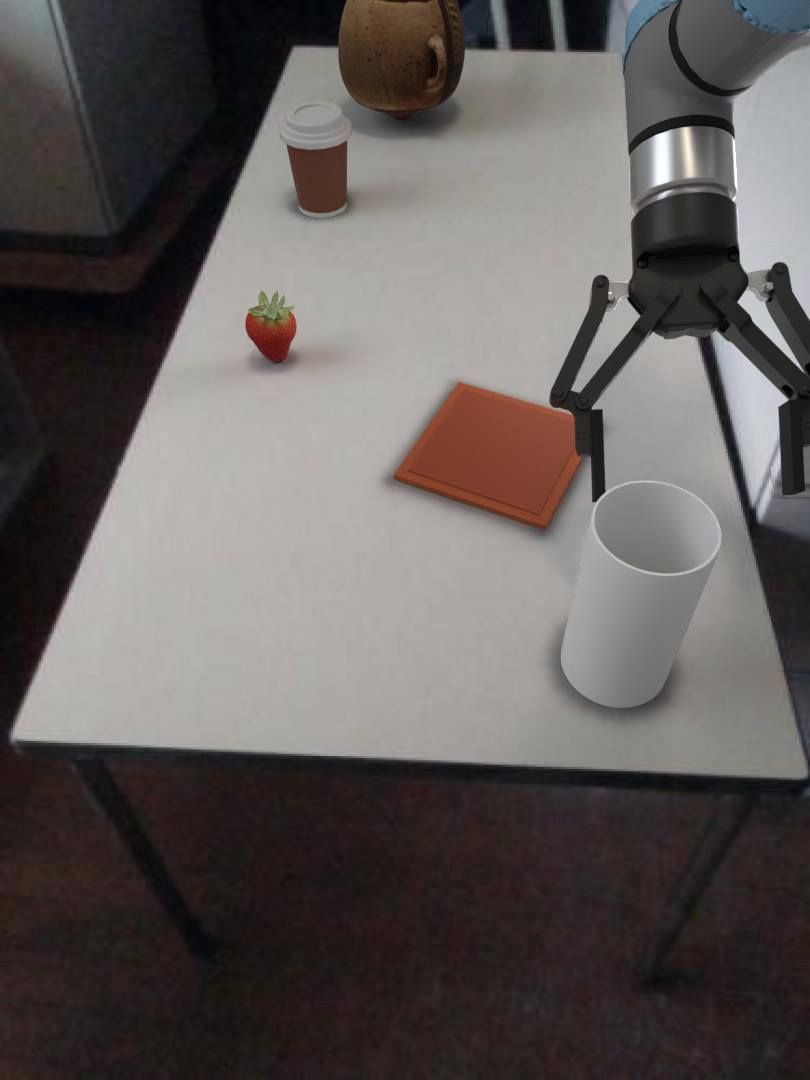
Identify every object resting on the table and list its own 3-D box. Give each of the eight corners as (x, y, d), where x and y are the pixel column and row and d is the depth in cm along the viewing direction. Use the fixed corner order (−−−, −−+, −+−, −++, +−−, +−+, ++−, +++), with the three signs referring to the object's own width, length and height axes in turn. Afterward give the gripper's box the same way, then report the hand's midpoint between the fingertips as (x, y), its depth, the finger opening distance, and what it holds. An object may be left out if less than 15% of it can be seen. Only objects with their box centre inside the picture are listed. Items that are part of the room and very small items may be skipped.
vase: (330, 98, 135) (311, -139, 113) (439, 83, 138) (442, -151, 115) (361, 158, 122) (347, -97, 99) (482, 141, 125) (495, -112, 102)
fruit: (292, 379, 90) (282, 314, 84) (244, 372, 91) (231, 308, 85) (307, 350, 93) (299, 285, 87) (260, 343, 94) (249, 279, 88)
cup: (618, 728, 63) (665, 598, 51) (538, 656, 67) (563, 520, 55) (689, 667, 66) (749, 531, 54) (609, 601, 70) (647, 462, 58)
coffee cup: (361, 189, 116) (356, 97, 107) (352, 224, 110) (345, 130, 101) (295, 187, 117) (284, 96, 108) (282, 222, 111) (269, 128, 102)
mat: (598, 427, 84) (599, 422, 84) (545, 530, 75) (546, 525, 75) (458, 386, 89) (459, 380, 88) (393, 479, 80) (393, 473, 79)
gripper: (843, 217, 65) (857, 495, 64) (513, 243, 68) (521, 507, 67) (884, 170, 57) (901, 484, 56) (511, 202, 61) (520, 498, 60)
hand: (694, 497), depth 62 cm, fingers open, 13 cm apart
